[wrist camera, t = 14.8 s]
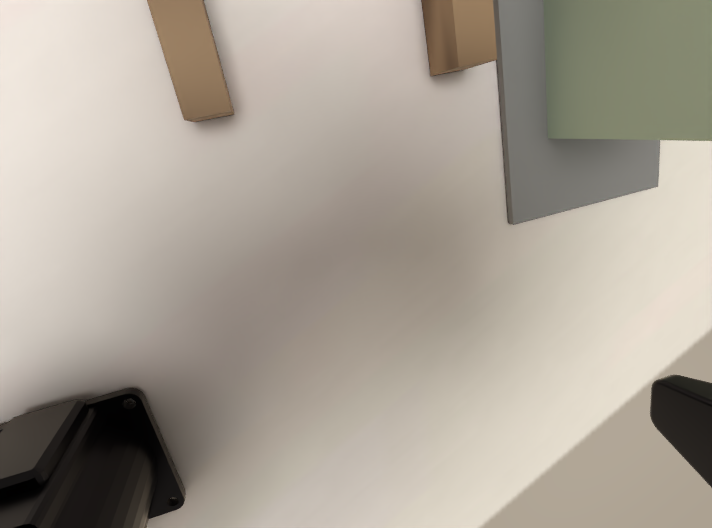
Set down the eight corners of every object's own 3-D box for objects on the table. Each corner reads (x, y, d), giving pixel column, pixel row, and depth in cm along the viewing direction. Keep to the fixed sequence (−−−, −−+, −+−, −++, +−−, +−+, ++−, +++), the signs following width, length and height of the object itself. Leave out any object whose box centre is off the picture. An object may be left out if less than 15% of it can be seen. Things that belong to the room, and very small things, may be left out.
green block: (628, -58, 17) (917, -205, 10) (624, 121, 20) (855, 113, 12) (542, -46, 17) (780, -192, 9) (547, 138, 19) (742, 140, 11)
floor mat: (650, 185, 21) (658, 186, 21) (508, 223, 20) (513, 224, 20) (665, -165, 17) (675, -171, 16) (482, -145, 15) (487, -152, 15)
